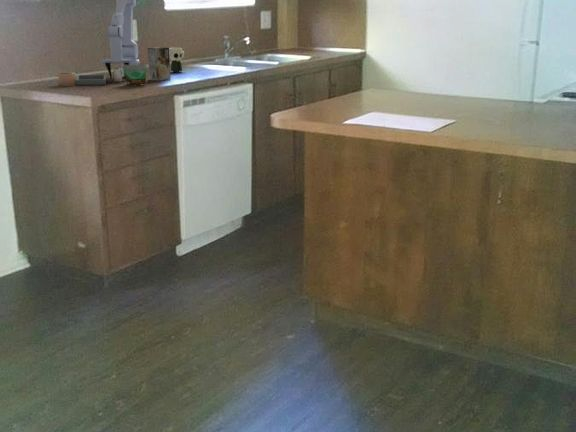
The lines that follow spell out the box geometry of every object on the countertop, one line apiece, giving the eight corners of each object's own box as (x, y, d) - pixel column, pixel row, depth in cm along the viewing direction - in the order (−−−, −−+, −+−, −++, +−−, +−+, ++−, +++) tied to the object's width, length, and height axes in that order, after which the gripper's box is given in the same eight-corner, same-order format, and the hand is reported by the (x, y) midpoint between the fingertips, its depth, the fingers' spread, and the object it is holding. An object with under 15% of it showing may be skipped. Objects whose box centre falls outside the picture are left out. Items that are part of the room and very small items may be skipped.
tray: (106, 79, 376) (105, 74, 375) (105, 84, 357) (105, 79, 356) (77, 80, 373) (77, 75, 372) (76, 85, 354) (75, 80, 353)
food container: (126, 86, 351) (125, 65, 348) (123, 85, 357) (122, 64, 354) (151, 85, 357) (150, 64, 354) (147, 83, 362) (146, 63, 359)
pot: (76, 84, 359) (75, 71, 357) (75, 86, 351) (74, 73, 349) (59, 84, 357) (58, 71, 355) (58, 86, 350) (57, 73, 348)
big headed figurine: (171, 73, 402) (170, 49, 398) (164, 72, 407) (163, 48, 403) (188, 72, 409) (187, 48, 405) (181, 70, 414) (180, 47, 410)
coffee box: (163, 78, 383) (161, 46, 378) (170, 79, 379) (169, 47, 374) (148, 79, 377) (147, 47, 372) (156, 80, 373) (155, 48, 368)
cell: (122, 80, 374) (121, 67, 372) (122, 81, 370) (121, 68, 368) (114, 80, 373) (113, 67, 371) (114, 81, 369) (113, 68, 367)
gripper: (101, 51, 362) (103, 79, 366) (131, 51, 365) (132, 78, 369) (101, 50, 368) (103, 77, 372) (130, 49, 371) (132, 76, 375)
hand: (118, 78), depth 371 cm, fingers open, 6 cm apart
